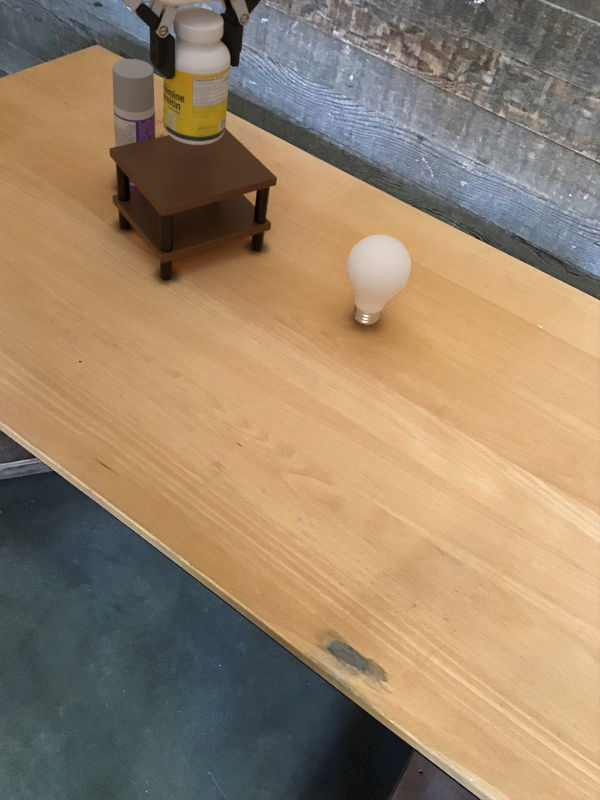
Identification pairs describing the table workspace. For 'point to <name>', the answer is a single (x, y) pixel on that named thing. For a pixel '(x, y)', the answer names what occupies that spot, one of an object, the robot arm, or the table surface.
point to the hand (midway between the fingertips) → (196, 65)
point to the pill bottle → (197, 79)
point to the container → (133, 102)
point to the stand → (191, 195)
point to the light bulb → (376, 274)
